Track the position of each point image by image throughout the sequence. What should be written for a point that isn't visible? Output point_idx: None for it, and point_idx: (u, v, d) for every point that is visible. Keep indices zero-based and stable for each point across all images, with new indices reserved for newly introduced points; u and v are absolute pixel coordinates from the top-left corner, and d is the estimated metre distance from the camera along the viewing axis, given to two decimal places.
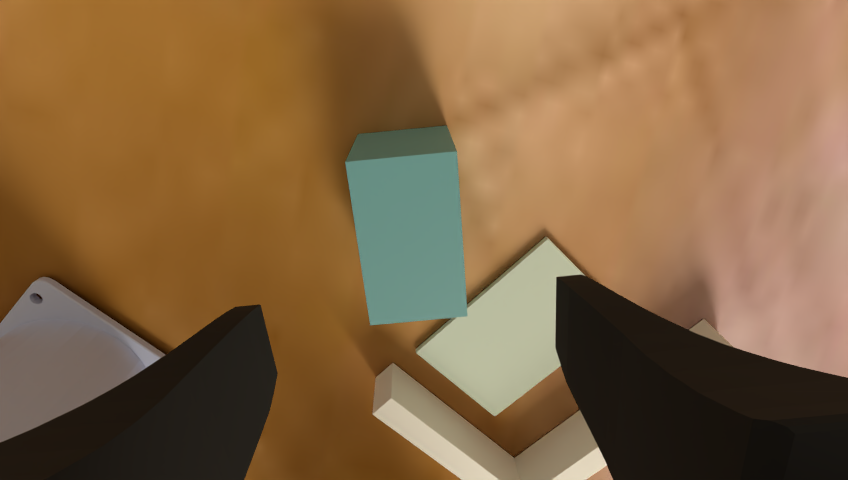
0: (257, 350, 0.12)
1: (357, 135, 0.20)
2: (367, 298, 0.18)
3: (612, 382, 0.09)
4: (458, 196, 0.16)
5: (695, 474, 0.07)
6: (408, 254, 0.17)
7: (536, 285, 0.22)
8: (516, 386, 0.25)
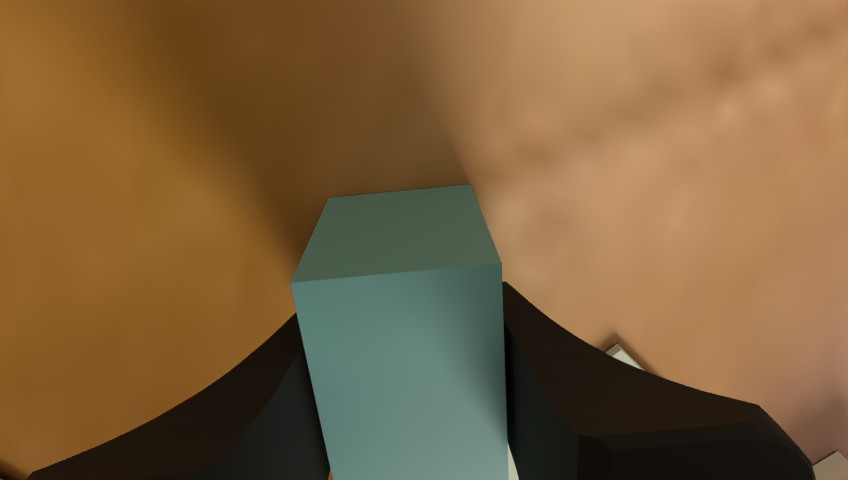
0: None
1: None
2: None
3: (515, 391, 0.09)
4: (501, 338, 0.09)
5: None
6: (409, 429, 0.10)
7: None
8: None
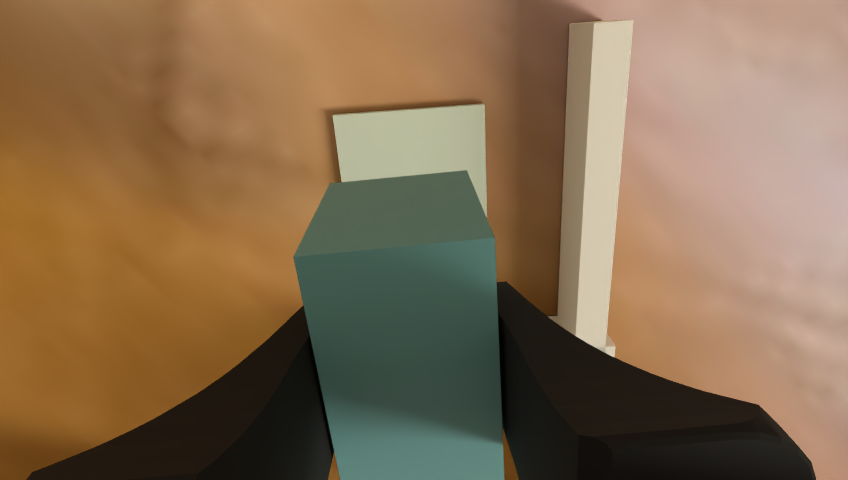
0: None
1: (328, 187, 0.13)
2: (340, 466, 0.11)
3: (515, 392, 0.09)
4: (495, 311, 0.09)
5: None
6: (407, 402, 0.10)
7: (375, 161, 0.19)
8: None
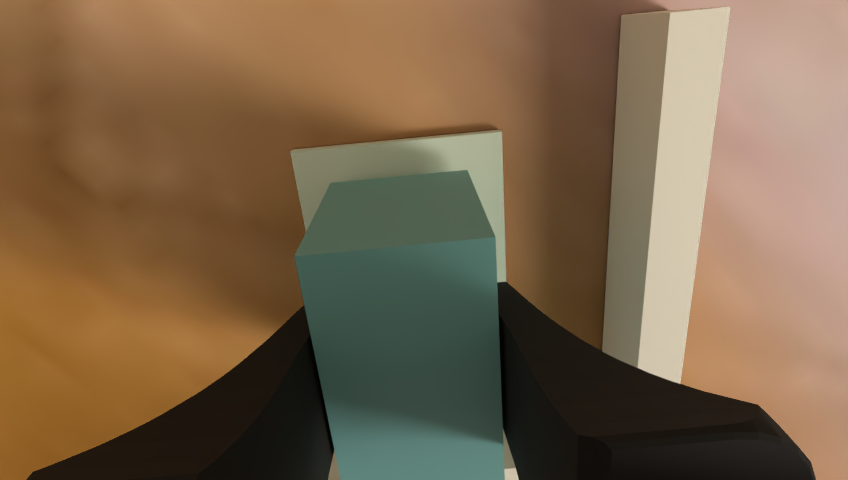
0: None
1: (328, 187, 0.13)
2: (340, 466, 0.11)
3: (515, 391, 0.09)
4: (496, 311, 0.09)
5: None
6: (408, 401, 0.10)
7: None
8: None
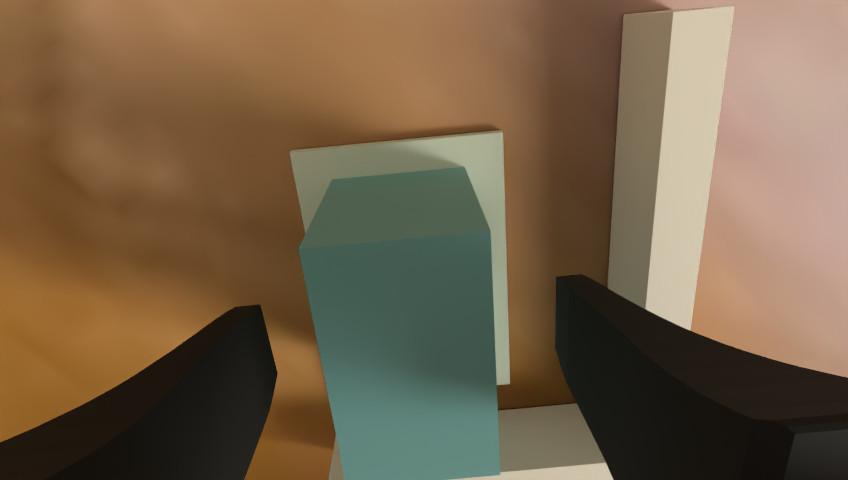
0: (257, 350, 0.12)
1: (330, 183, 0.13)
2: (341, 451, 0.11)
3: (612, 383, 0.09)
4: (491, 302, 0.10)
5: (695, 474, 0.07)
6: (407, 388, 0.10)
7: None
8: None
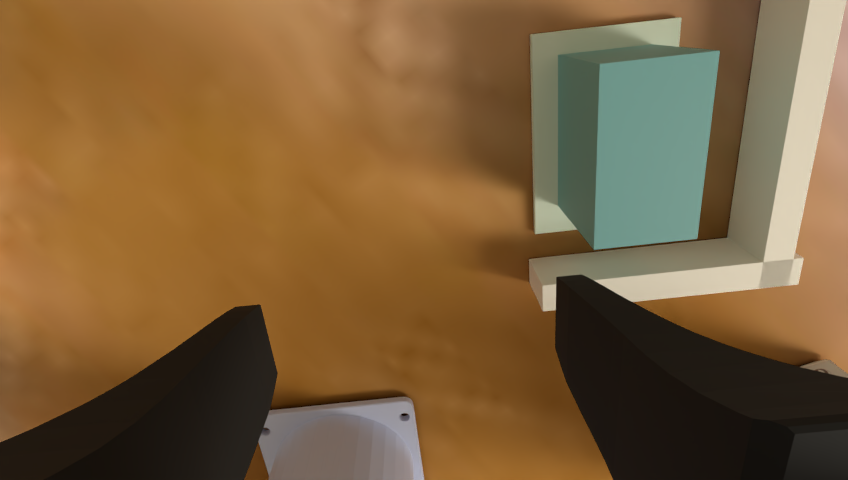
0: (257, 350, 0.12)
1: (561, 55, 0.19)
2: (595, 219, 0.17)
3: (613, 382, 0.09)
4: (712, 102, 0.15)
5: (695, 474, 0.07)
6: (648, 168, 0.16)
7: None
8: None
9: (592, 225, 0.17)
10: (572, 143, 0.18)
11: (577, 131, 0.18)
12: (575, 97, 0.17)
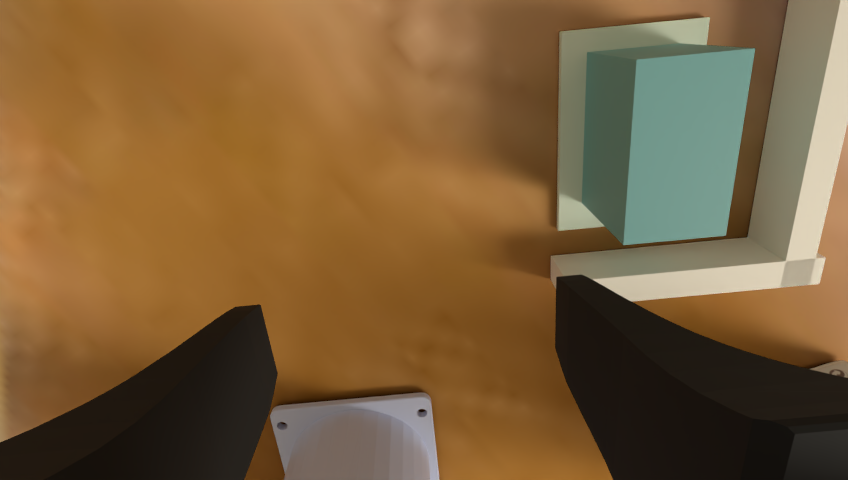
0: (257, 350, 0.12)
1: (591, 52, 0.19)
2: (626, 215, 0.17)
3: (613, 382, 0.09)
4: (746, 99, 0.16)
5: (695, 474, 0.07)
6: (680, 164, 0.16)
7: None
8: None
9: (622, 220, 0.17)
10: (600, 139, 0.19)
11: (608, 127, 0.18)
12: (606, 93, 0.18)
